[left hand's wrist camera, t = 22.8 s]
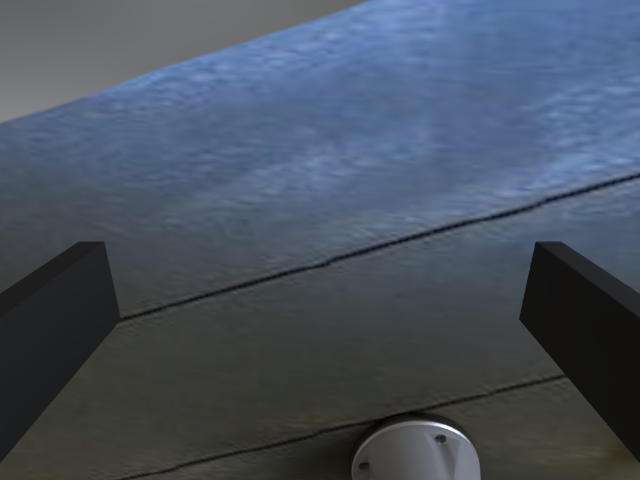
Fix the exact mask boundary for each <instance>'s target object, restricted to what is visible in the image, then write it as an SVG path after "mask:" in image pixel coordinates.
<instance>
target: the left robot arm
mask: <svg viewBox="0 0 640 480" xmlns="http://www.w3.org/2000/svg"><path fill="white" fill-rule="evenodd" d="M120 320H121V317H120V313H119V308H118V303H117V299H116V294H115V290H114V285H113V280H112V276H111V271H110V266H109V262H108V257H107V253H106V248H105V243H104V242H78V243H76V244H75V245H73V246H72V247H70V248H69V249H67V250H66V251H64V252H63V253H61V254H60V255H58V256H56V257H55V258H53V259H52V260H50V261H49V262H47V263H46V264H44V265H43V266H41V267H40V268H38V269H37V270H35V271H34V272H32V273H31V274H29V275H28V276H26V277H25V278H23V279H22V280H20V281H19V282H17V283H16V284H14V285H13V286H11V287H10V288H8V289H7V290H5V291H4V292H2V293H1V294H0V463H1V461H2V460H3V459H4V458H5V457H6V455H7V454H8V453H9V452H10V451H11V449H12V448H13V447H14V446H15V445H16V444H17V442H18V441H19V440H20V439H21V438H22V436H23V435H24V434H25V433H26V432H27V430H28V429H29V428H30V427H31V426H32V424H33V423H34V422H35V421H36V420H37V419H38V417H39V416H40V415H41V414H42V413H43V411H44V410H45V409H46V408H47V407H48V405H49V404H50V403H51V402H52V401H53V400H54V398H55V397H56V396H57V395H58V394H59V392H60V391H61V390H62V389H63V388H64V386H65V385H66V384H67V383H68V382H69V380H70V379H71V378H72V377H73V376H74V375H75V373H76V372H77V371H78V370H79V369H80V367H81V366H82V365H83V364H84V363H85V361H86V360H87V359H88V358H89V357H90V355H91V354H92V353H93V352H94V351H95V350H96V348H97V347H98V346H99V345H100V344H101V342H102V341H103V340H104V339H105V338H106V336H107V335H108V334H109V333H110V332H111V330H112V329H113V328H114V327H115V326H116V325H117V323H118V322H119V321H120ZM519 320H520V321H521V322H522V323H523V325H524V326H525V327H526V328H527V329H528V330H529V332H530V333H531V334H532V335H533V336H534V338H535V339H536V340H537V341H538V342H539V344H540V345H541V346H542V347H543V348H544V350H545V351H546V352H547V353H548V354H549V355H550V357H551V358H552V359H553V360H554V361H555V363H556V364H557V365H558V366H559V367H560V369H561V370H562V371H563V372H564V373H565V375H566V376H567V377H568V378H569V379H570V380H571V382H572V383H573V384H574V385H575V386H576V388H577V389H578V390H579V391H580V392H581V394H582V395H583V396H584V397H585V398H586V400H587V401H588V402H589V403H590V404H591V405H592V407H593V408H594V409H595V410H596V411H597V413H598V414H599V415H600V416H601V417H602V419H603V420H604V421H605V422H606V423H607V425H608V426H609V427H610V428H611V429H612V430H613V432H614V433H615V434H616V435H617V436H618V438H619V439H620V440H621V441H622V442H623V444H624V445H625V446H626V447H627V448H628V449H629V451H630V452H631V453H632V454H633V455H634V457H635V458H636V459H637V460H638V461H639V463H640V294H639V293H638V292H636V291H635V290H633V289H632V288H630V287H629V286H627V285H626V284H624V283H623V282H621V281H620V280H618V279H617V278H615V277H614V276H612V275H611V274H609V273H608V272H606V271H605V270H603V269H602V268H600V267H599V266H597V265H596V264H594V263H593V262H591V261H590V260H588V259H587V258H585V257H584V256H582V255H580V254H579V253H577V252H576V251H574V250H573V249H571V248H570V247H568V246H567V245H565V244H564V243H562V242H536V243H535V248H534V253H533V257H532V262H531V266H530V271H529V276H528V280H527V285H526V290H525V294H524V299H523V303H522V308H521V313H520V317H519ZM351 471H352V480H480V465H479V459H478V455H477V453H476V450H475V448H474V445H473V443H472V441H471V439H470V437H469V435H468V434H467V433H466V432H465V431H464V430H463V429H462V428H461V427H460V426H459V425H457V424H456V423H454V422H453V421H451V420H449V419H446V418H444V417H440V416H437V415H432V414H423V413H412V414H404V415H399V416H395V417H392V418H389V419H386V420H384V421H381V422H380V423H378V424H376V425H374V426H373V427H371V428H370V429H369V430H367V431H366V432H365V433H364V434H363V435H362V436H361V437H360V439H359V440H358V441H357V443H356V445H355V447H354V449H353V452H352V456H351Z"/></svg>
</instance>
